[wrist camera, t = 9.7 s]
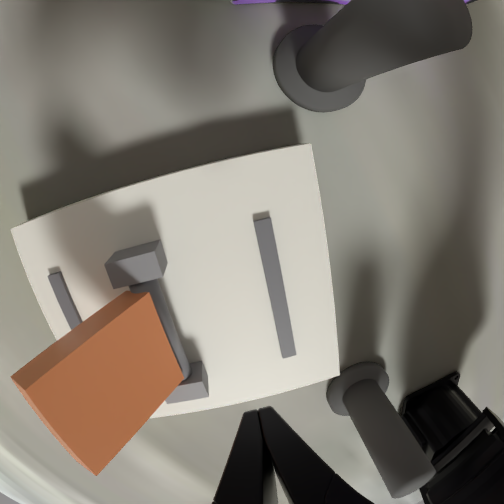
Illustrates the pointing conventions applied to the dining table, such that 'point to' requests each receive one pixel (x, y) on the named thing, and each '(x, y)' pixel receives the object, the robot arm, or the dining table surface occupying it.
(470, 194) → the dining table surface
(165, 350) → the block
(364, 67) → the near post
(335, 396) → the far post
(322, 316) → the panel
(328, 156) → the dining table surface
